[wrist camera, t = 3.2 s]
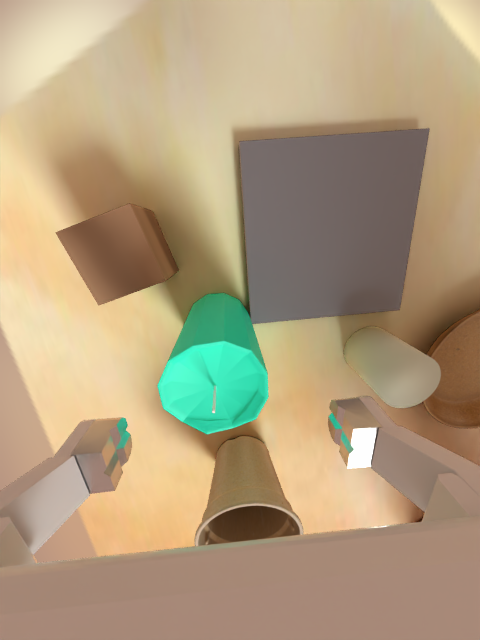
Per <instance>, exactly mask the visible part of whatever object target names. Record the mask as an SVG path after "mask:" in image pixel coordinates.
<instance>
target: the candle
mask: <svg viewBox="0 0 480 640" xmlns="http://www.w3.org/2000/svg"><path fill="white" fill-rule="evenodd" d="M157 386H158V390H159V394H160V398H161V402H162V406H163V409H164V410H166V411H167V412H169V413H170V414H172V415H173V416H175V417H176V418H177V419H179V420H180V421H182V422H183V423H185V424H187V425H189V426H191V427H193V428H195V429H197V430H199V431H201V432H203V433H205V434H210V433H215V432H219V431H223V430H227V429H232V428H235V427H238V426H240V425H243V424H245V423H248V422H250V421H253V420H256V418H257V417H258V415H259V413H260V411H261V410H262V408H263V406H264V404H265V403H266V401H267V399H268V373H267V370H266V367H265V363H264V360H263V357H262V354H261V351H260V348H259V344H258V341H257V338H256V335H255V332H254V328H253V325H252V322H251V319H250V316H249V313H248V311H247V310H246V308H245V307H244V306H243V304H242V303H241V301H240V300H239V299H237V298H234V297H232V296H230V295H228V294H226V293H216V294H207V295H205V296H204V297H202V298H201V299H200V300H198V301H197V302H195V303H194V304H193V306H192V308H191V310H190V313H189V315H188V317H187V319H186V322H185V324H184V326H183V328H182V331H181V333H180V335H179V337H178V340H177V342H176V344H175V347H174V349H173V351H172V353H171V356H170V358H169V360H168V362H167V365H166V367H165V369H164V372H163V374H162V376H161V378H160V381H159V383H158V385H157Z"/></svg>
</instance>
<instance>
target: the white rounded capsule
mask: <svg viewBox="0 0 480 640" xmlns="http://www.w3.org/2000/svg"><path fill="white" fill-rule="evenodd" d="M344 358H345V360H346V362H347V363H348V365H349V366H350V367H351V368H352V369H353V370H354V371H355V372H356V373H357V374H358V375H359V376H360V377H361V378H362V379H363V380H364V381H365V382H366V383H367V384H368V385H369V386H370V387H371V388H372V390H373V391H374V392H375V393H376V394H377V395H378V396H379V397H380V398H381V399H382V400H383V401H384V402H385V403H386V404H388V405H389V406H392V407H395V408H408V407H412V406H415V405H417V404H419V403H421V402H423V401H424V400H426V399H427V398H428V397H429V396H431V394H432V393H433V392H434V391H435V390H436V388H437V386H438V384H439V382H440V378H441V370H440V367H439V365H438V363H437V362H436V361H435V360H434V359H433V358H431V357H429V356H427V355H426V354H424V353H422V352H421V351H419V350H417V349H416V348H414V347H412V346H411V345H409V344H407V343H406V342H404V341H402V340H400V339H399V338H397V337H395V336H394V335H392V334H390V333H389V332H387V331H385V330H384V329H382V328H379V327H374V326H371V327H365V328H362V329H360V330H358V331H357V332H355V333H354V334H353V335H352V336H351V337H350V338H349V339H348V341H347V342H346V345H345V347H344Z"/></svg>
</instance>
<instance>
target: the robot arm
mask: <svg viewBox="0 0 480 640" xmlns="http://www.w3.org/2000/svg"><path fill="white" fill-rule="evenodd" d="M330 410H331V411H332V413H331V414H330V416H329V417H328V426H329V431H330V434H331V437H332V439H333V441H334V442H335V443H336V444H338V445H339V446H340V450H339V452H340V454H341V456H342V458H343V460H344V462H345V464H346V466H347V467H348V468H356V467H371V468H372V469H373V470H374V471H375V472H377V473H378V474H379V475H380V476H381V477H383V478H384V479H385V480H386V481H387V482H389V483H390V484H391V485H392V486H393V487H395V488H396V489H397V490H398V491H399V492H401V493H402V494H403V495H404V496H405V497H407V498H408V499H409V500H410V501H411V502H413V503H414V504H415V505H416V506H417V507H419V508H420V509H421V510H422V511H424V512H425V514H424V517H423V519H422V521H421V522H415V523H406V524H396V525H387V526H378V527H368V528H359V529H350V530H341V531H331V532H322V533H313V534H304V535H295V536H285V537H276V538H267V539H258V540H248V541H239V542H230V543H221V544H211V545H202V546H193V547H184V548H174V549H165V550H156V551H146V552H137V553H128V554H119V555H109V556H100V557H91V558H82V559H72V560H63V561H53V562H45V563H38V562H37V560H36V559H35V557H34V554H35V553H36V551H37V550H38V549H39V548H40V547H41V546H42V545H43V544H44V543H45V542H46V541H47V540H48V539H49V538H50V537H51V536H52V535H53V534H54V533H55V531H56V530H57V529H58V528H59V527H60V526H61V525H62V524H63V523H64V522H65V521H66V520H67V519H68V518H69V517H70V516H71V515H72V514H73V513H74V511H75V510H76V509H77V508H78V507H79V506H80V505H81V504H82V503H83V502H84V501H85V500H86V499H87V498H88V497H89V496H90V494H92V493H100V492H108V491H115V489H116V487H117V485H118V482H119V480H120V478H121V475H122V473H123V471H122V468H121V466H123V465H124V464H125V463H126V462H127V461H128V459H129V456H130V454H131V448H132V439H131V435H130V434H129V433H128V432H127V431H126V428H127V426H128V425H127V422H126V419H125V418H107V419H97V420H83V421H82V422H80V423H79V424H78V426H77V427H76V428H75V429H74V431H73V432H72V433H71V435H70V436H69V437H68V439H67V440H66V441H65V443H64V444H63V445H62V447H61V448H60V449H59V451H58V452H57V453H56V454H55V456H54V457H53V458H48V459H47V460H45V461H43V462H42V463H41V464H39V465H37V466H36V467H34V468H33V469H31V470H30V471H29V472H27V473H26V474H24V475H23V476H21V477H20V478H18V479H17V480H15V481H14V482H12V483H11V484H9V485H8V486H6V487H5V488H3V489H2V490H0V640H480V466H479V465H477V464H475V463H473V462H471V461H469V460H467V459H465V458H463V457H461V456H459V455H457V454H455V453H453V452H451V451H449V450H448V449H446V448H444V447H442V446H440V445H438V444H436V443H434V442H432V441H430V440H428V439H426V438H424V437H422V436H420V435H418V434H416V433H414V432H412V431H410V430H408V429H406V428H404V427H403V426H397V425H396V424H395V423H394V422H393V421H392V420H391V419H390V417H389V416H388V415H387V414H386V413H385V412H384V411H383V410H382V408H381V407H380V406H379V405H378V404H377V403H376V402H375V401H374V400H373V398H372V397H370V396H363V397H356V398H345V399H334V400H331V402H330Z"/></svg>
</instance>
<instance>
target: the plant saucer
mask: <svg viewBox="0 0 480 640" xmlns="http://www.w3.org/2000/svg"><path fill="white" fill-rule="evenodd" d="M427 356H429V357H431V358H433V359H434V360H435V361H436V362H437V363H438V365H439V367H440V370H441V378H440V382H439V384H438V386H437V388H436V390H435V391H434V392H433V393H432V394H431V396H429V397H428V398H427V399H426V400H424V401H423V402H424V405H425V407H426V409H427V411H428V412H429V413H430V415H431V416H432V417H434V418H435V419H436V420H438V421H439V422H441V423H443V424H445V425H448V426H452V427H455V428H478V427H480V310H478V311H476V312H474V313H472V314H470V315H468V316H466V317H464V318H462V319H461V320H459V321H458V322H456V323H455V324H453V325H452V326H450V327H449V328H448V329H447V330H446V331H444V332H443V333H442V334H441V335H440V336H439V337H438V339H437V340H436V341H435V342H434V344H433V345H432V346H431V348H430V350H429V351H428V353H427Z"/></svg>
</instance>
